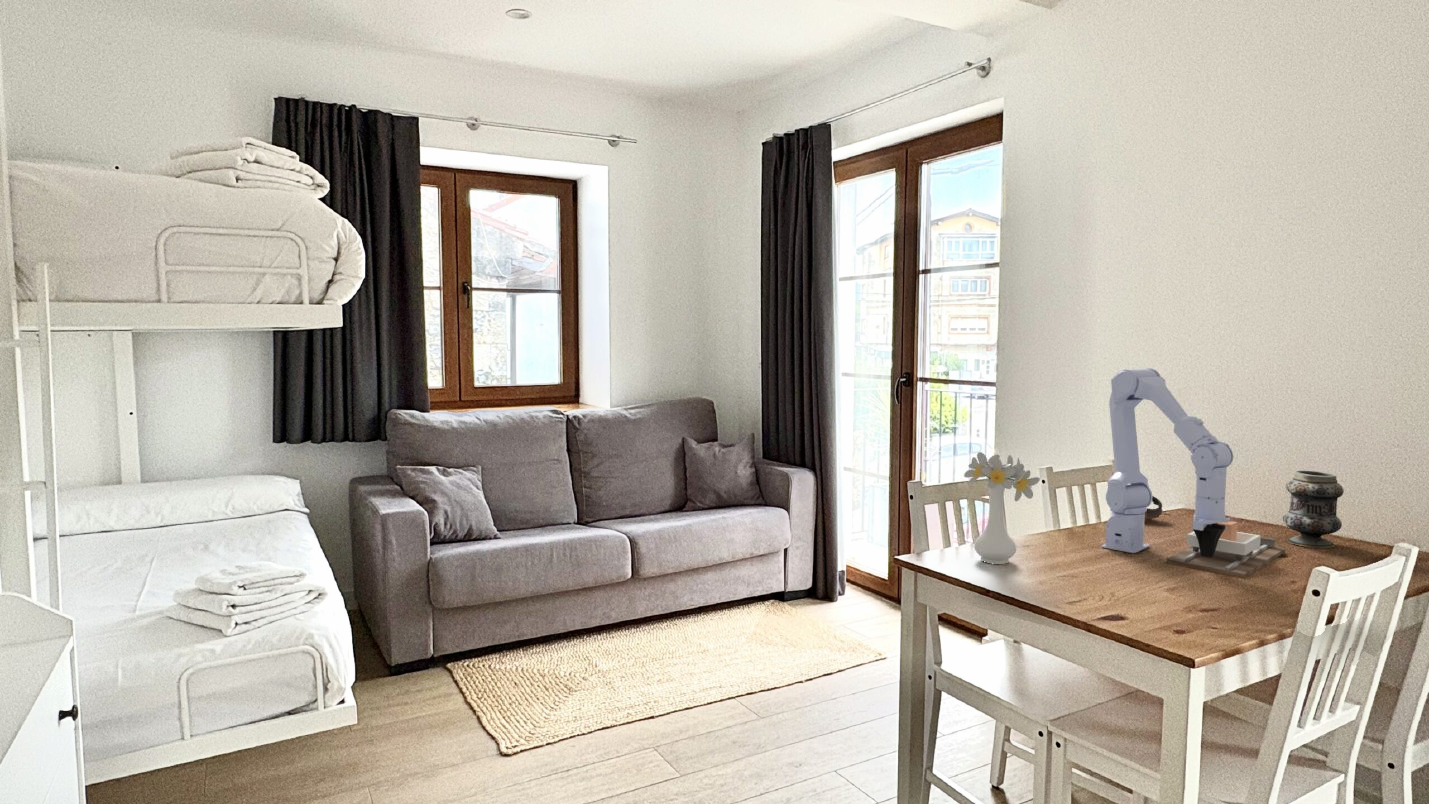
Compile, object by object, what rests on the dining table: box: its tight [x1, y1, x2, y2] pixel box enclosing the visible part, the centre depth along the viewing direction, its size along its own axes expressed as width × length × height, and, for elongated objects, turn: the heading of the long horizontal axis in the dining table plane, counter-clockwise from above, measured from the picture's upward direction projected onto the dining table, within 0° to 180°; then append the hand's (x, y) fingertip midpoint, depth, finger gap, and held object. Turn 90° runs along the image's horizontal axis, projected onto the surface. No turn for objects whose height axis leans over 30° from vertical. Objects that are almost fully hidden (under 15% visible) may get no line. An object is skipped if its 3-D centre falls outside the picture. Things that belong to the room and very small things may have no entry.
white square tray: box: [1186, 530, 1262, 560], centre depth 197 cm, size 11×12×4 cm
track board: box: [1165, 536, 1286, 579], centre depth 200 cm, size 30×16×3 cm, turn 132°
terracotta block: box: [1217, 520, 1238, 542], centre depth 197 cm, size 4×4×5 cm
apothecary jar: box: [1282, 469, 1345, 549], centre depth 211 cm, size 12×12×18 cm
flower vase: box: [963, 451, 1041, 565], centre depth 196 cm, size 13×18×25 cm
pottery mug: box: [1144, 495, 1163, 523], centre depth 239 cm, size 12×10×8 cm
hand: (1207, 556), depth 190 cm, fingers closed
